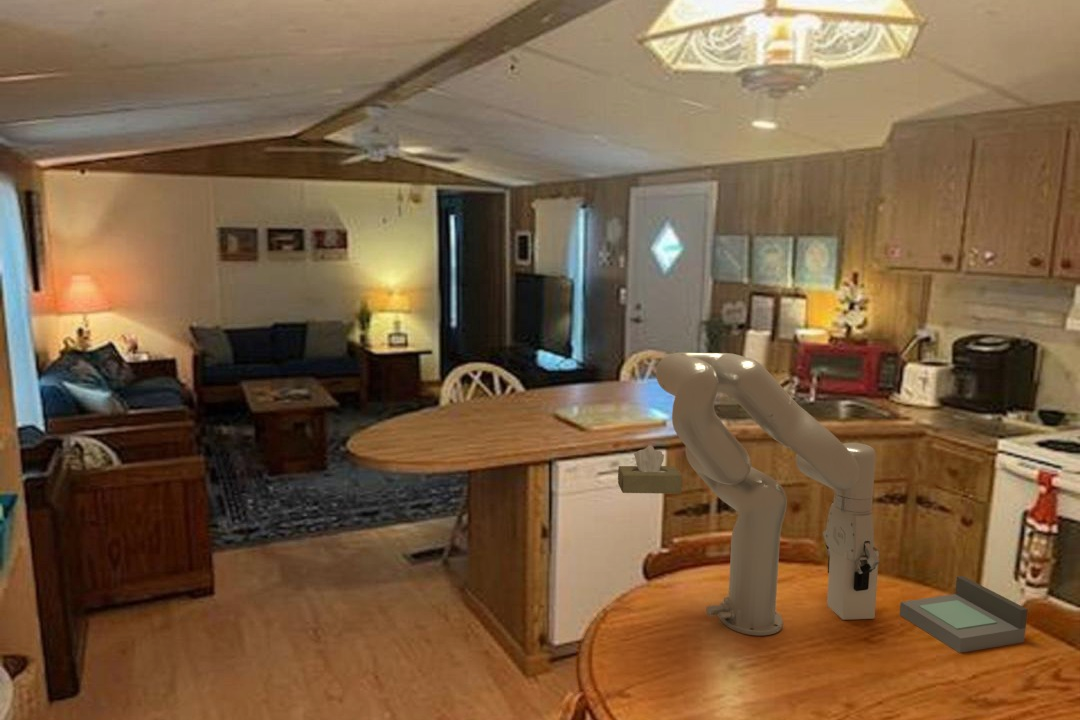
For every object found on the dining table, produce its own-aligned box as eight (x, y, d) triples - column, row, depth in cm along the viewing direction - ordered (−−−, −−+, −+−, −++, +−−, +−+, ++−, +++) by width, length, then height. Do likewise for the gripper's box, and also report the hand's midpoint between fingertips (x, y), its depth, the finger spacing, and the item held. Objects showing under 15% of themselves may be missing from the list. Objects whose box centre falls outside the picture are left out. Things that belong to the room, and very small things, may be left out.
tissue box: (674, 490, 247) (676, 442, 245) (681, 500, 238) (683, 450, 235) (616, 490, 246) (618, 442, 244) (621, 500, 237) (623, 450, 234)
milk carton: (857, 604, 168) (862, 521, 166) (874, 619, 161) (880, 532, 159) (826, 605, 168) (831, 521, 165) (842, 620, 161) (848, 533, 158)
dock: (959, 652, 149) (962, 619, 148) (899, 615, 164) (902, 584, 163) (1023, 642, 153) (1027, 609, 152) (959, 606, 168) (962, 576, 167)
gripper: (811, 491, 168) (807, 567, 171) (865, 518, 152) (860, 601, 154) (840, 488, 170) (836, 563, 173) (897, 514, 154) (891, 597, 156)
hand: (847, 580), depth 164 cm, fingers closed on milk carton, 7 cm apart
